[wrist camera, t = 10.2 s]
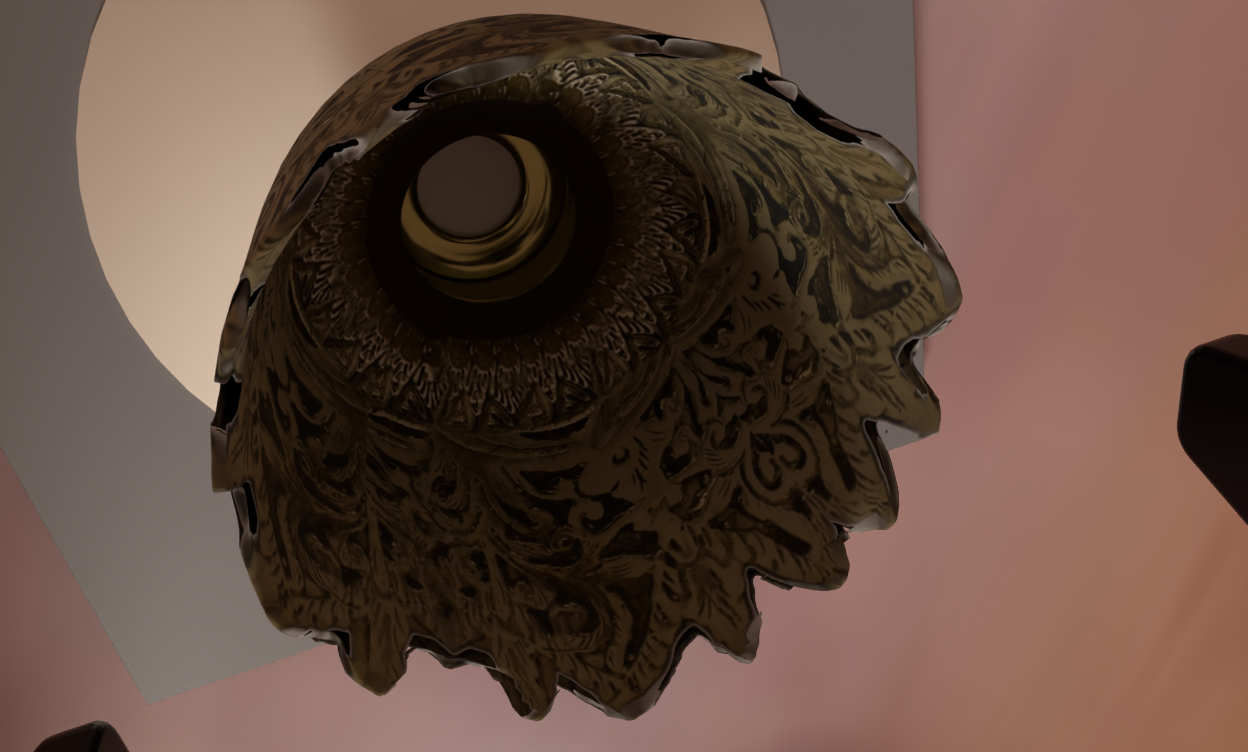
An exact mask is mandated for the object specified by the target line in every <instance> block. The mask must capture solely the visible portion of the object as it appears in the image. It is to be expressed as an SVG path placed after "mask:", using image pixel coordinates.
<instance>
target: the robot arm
mask: <svg viewBox="0 0 1248 752" xmlns="http://www.w3.org/2000/svg"><path fill="white" fill-rule="evenodd" d="M1177 432H1178V437H1179V440H1180V443H1181V445H1182V447H1183V449H1184V451H1185V452H1186V454H1187V455H1188V456H1189V458H1190V459H1191V460H1192V461H1193V462H1194V464H1195V465H1196V466H1197V467H1198V468H1199V469H1200V470H1201V472H1202V473H1203V474H1204V475H1205V476H1206V477H1207V479H1208V480H1209V481H1210V482H1211V483H1212V484H1213V486H1214V487H1215V488H1216V489H1217V490H1218V491H1219V493H1220V494H1221V495H1222V496H1223V497H1224V498H1225V500H1226V501H1227V502H1228V503H1229V504H1230V505H1231V506H1232V508H1233V509H1234V510H1235V511H1236V512H1237V513H1238V515H1239V516H1240V517H1241V518H1242V519H1243V520H1244V522H1245V523H1246V524H1247V525H1248V335H1245V334H1233V335H1228V336H1225V337H1222V338H1219V339H1216V340H1213V341H1210V342H1207V343H1204V344H1201V345H1199V346H1197V347H1195V348H1194V349H1192V350H1191V351H1190V353H1189V354H1188V356H1187V358H1186V359H1185V363H1184V369H1183V377H1182V386H1181V394H1180V402H1179V411H1178V419H1177ZM34 752H129V751H128V749H127V747H126V746H125V744H124V742H123V741H122V739H121V737H120V736H119V734H118V733H117V731H116V730H115V729H114V728H113V727H112V726H111V725H110V724H109V723H108V722H104V721H93V722H91V723H88V724H85V725H82V726H79V727H76V728H73V729H70V730H67V731H64V732H61V733H58V734H55V735H53V736H51V737H49V738H47V739H45V740H44V741H43V742H42V743H41V744H40V745H39V746H38V747H37V748H36V749H35V751H34Z"/></svg>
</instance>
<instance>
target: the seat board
mask: <svg viewBox="0 0 1248 752" xmlns="http://www.w3.org/2000/svg"><path fill="white" fill-rule="evenodd" d="M524 13H525V14H554V15H566V16H574V17H580V18H587V19H593V20H600V21H606V22H611V23H617V24H622V25H627V26H632V27H637V28H642V29H646V30H651V31H655V32H660V33H664V34H669V35H673V36H678V37H684V38H691V39H697V40H704V41H710V42H715V43H720V44H725V45H730V46H735V47H740V48H744V49H747V50H750V51H754V52H756V53H758V54H760V55H762V67H764V68H765V69H767V70H769V71H771V72H773V73H775V74H777V75H779V76H781V77H783V78H785V79H788V80H790V81H792V82H794V83H796V84H798V85H799V86H800V87H801V89H802V90H803V92H804V94H805V95H806V96H807V97H808V98H809V99H811V100H812V101H813V102H815V103H816V104H817V105H819V106H820V107H821V108H822V109H823V110H824V111H826V112H827V113H828V114H830V115H832V116H834V117H836V118H837V119H839V120H841V121H843V122H845V123H847V124H849V125H851V126H853V127H856V128H860V129H864V130H870V131H873V132H875V133H878V134H880V135H881V136H883V137H884V138H885V139H886V140H888V141H889V142H890V143H892V144H893V145H894V146H896V147H897V148H898V149H899V150H900V151H901V152H902V153H903V154H904V155H905V156H906V157H907V158H908V160H909V161H910V162H911V163H912V165H913V167H914V169H915V172H916V176H917V183H918V154H917V120H916V86H915V52H914V18H913V0H0V448H1V449H2V451H3V453H4V455H5V456H6V458H7V460H8V462H9V463H10V465H11V467H12V469H13V470H14V472H15V474H16V476H17V477H18V479H19V481H20V483H21V484H22V486H23V488H24V490H25V491H26V493H27V495H28V497H29V498H30V500H31V502H32V504H33V505H34V507H35V509H36V511H37V512H38V514H39V516H40V518H41V519H42V521H43V523H44V525H45V526H46V528H47V530H48V532H49V533H50V535H51V537H52V539H53V540H54V542H55V544H56V546H57V547H58V549H59V551H60V553H61V555H62V556H63V558H64V560H65V562H66V563H67V565H68V567H69V569H70V570H71V572H72V574H73V576H74V577H75V579H76V581H77V583H78V584H79V586H80V588H81V590H82V591H83V593H84V595H85V597H86V598H87V600H88V602H89V604H90V605H91V607H92V609H93V611H94V612H95V614H96V616H97V618H98V619H99V621H100V623H101V625H102V626H103V628H104V630H105V632H106V633H107V635H108V637H109V639H110V640H111V642H112V644H113V646H114V647H115V649H116V651H117V653H118V654H119V656H120V658H121V660H122V661H123V663H124V665H125V667H126V668H127V670H128V672H129V674H130V675H131V677H132V679H133V681H134V682H135V684H136V686H137V688H138V690H139V691H140V693H141V695H142V697H143V698H144V700H145V702H146V704H147V705H149V704H152V703H155V702H158V701H161V700H163V699H166V698H169V697H172V696H175V695H178V694H181V693H184V692H187V691H190V690H193V689H196V688H198V687H201V686H204V685H207V684H210V683H213V682H216V681H219V680H222V679H225V678H228V677H230V676H233V675H236V674H239V673H242V672H245V671H248V670H251V669H254V668H257V667H260V666H263V665H265V664H268V663H271V662H274V661H277V660H280V659H283V658H286V657H289V656H292V655H295V654H297V653H300V652H303V651H306V650H309V649H312V648H315V647H318V646H321V645H324V644H327V643H324V642H315V641H314V640H313V639H312V638H306V637H292V636H289V635H286V634H283V633H282V632H280V631H279V630H278V629H276V628H275V627H274V626H273V625H272V623H271V622H270V621H269V620H268V618H267V616H266V614H265V612H264V610H263V607H262V605H261V603H260V601H259V599H258V597H257V594H256V592H255V590H254V588H253V585H252V583H251V580H250V577H249V575H248V572H247V569H246V567H245V564H244V561H243V558H242V555H241V552H240V549H239V526H238V520H237V515H236V511H235V507H234V503H233V500H232V496H231V492H222V493H214V492H213V490H212V479H211V434H210V423H211V422H212V421H213V418H214V415H215V412H216V406H217V400H218V396H219V390H220V383H216V382H214V377H215V370H216V363H217V357H218V351H219V345H220V339H221V334H222V330H223V327H224V323H225V320H226V316H227V313H228V310H229V306H230V303H231V299H232V296H233V294H234V292H235V290H236V288H237V285H238V283H239V280H240V278H239V277H240V274H241V272H242V270H243V267H244V263H245V260H246V257H247V254H248V250H249V247H250V244H251V241H252V237H253V234H254V231H255V228H256V225H257V222H258V218H259V216H260V213H261V210H262V207H263V204H264V202H265V200H266V197H267V195H268V193H269V191H270V189H271V186H272V184H273V182H274V180H275V177H276V175H277V173H278V171H279V168H280V166H281V164H282V162H283V161H284V159H285V157H286V156H287V154H288V152H289V151H290V149H291V147H292V146H293V144H294V142H295V141H296V139H297V138H298V136H299V134H300V133H301V132H302V130H303V129H304V128H305V126H306V125H307V124H308V123H309V121H310V120H311V119H312V117H313V116H314V115H315V114H316V112H317V111H318V110H319V109H320V107H321V106H322V105H323V104H324V103H325V102H326V101H327V100H328V99H329V98H330V97H331V96H332V95H333V94H334V93H335V92H336V91H337V90H338V89H339V88H340V87H341V86H342V85H343V84H344V83H345V82H346V81H347V80H348V79H349V78H351V77H352V76H353V75H355V74H356V73H357V72H358V71H360V70H361V69H362V68H363V67H365V66H366V65H367V64H368V63H370V62H371V61H373V60H375V59H376V58H378V57H379V56H381V55H383V54H384V53H386V52H388V51H389V50H391V49H392V48H394V47H396V46H398V45H400V44H402V43H404V42H406V41H409V40H411V39H413V38H415V37H417V36H419V35H421V34H424V33H426V32H429V31H432V30H435V29H438V28H441V27H444V26H447V25H450V24H453V23H458V22H463V21H468V20H473V19H477V18H482V17H489V16H500V15H512V14H524ZM520 190H521V178H520V173H519V169H518V166H517V164H516V162H515V160H514V159H513V157H512V156H511V154H510V153H509V152H508V151H507V150H506V149H505V148H504V147H503V146H501V145H500V144H498V143H497V142H495V141H493V140H491V139H488V138H485V137H481V136H472V137H468V138H465V139H462V140H459V141H457V142H455V143H452V144H450V145H448V146H447V147H445V148H443V149H442V150H440V151H439V152H438V153H436V154H435V155H434V156H432V157H431V158H430V159H429V160H428V161H427V162H426V163H425V164H424V165H423V166H422V168H421V171H420V174H419V178H418V197H419V201H420V204H421V207H422V209H423V211H424V213H425V214H426V216H427V217H428V218H429V219H430V221H431V222H432V223H434V224H435V225H436V226H437V227H439V228H440V229H442V230H444V231H446V232H448V233H451V234H454V235H458V236H477V235H481V234H484V233H487V232H490V231H492V230H494V229H495V228H497V227H498V226H500V225H501V224H502V223H503V222H504V221H505V220H507V218H508V217H509V216H510V215H511V213H512V212H513V210H514V209H515V207H516V205H517V202H518V199H519V196H520ZM911 193H912V191H910V192H908V195H909V194H911ZM907 200H908V201H909V203H910V205H911V206H912V208H913V210H914V211H915V212H916V214H917V215H918V216H919V188H918V186H917V189H916V190H915V191H914V192H913V193H912V194H911V195H910V196H909V197H908V198H907ZM919 342H920V344H919V347H918V351H917V353H916V355H915V356H914V358H913V362H914V365H915V367H916V368H917V370H918V371H919V372H920V374H921V375H922V377H923V378H924V358H923V338H922V339H920V341H919ZM919 342H918V343H919ZM877 429H878V433H879V435H880V436H881V439H882V441H883V443H884V444H885V447H886V449H887V451H889V450H892V449H895V448H898V447H901V446H904V445H906V444H909V443H912V442H915V441H918V440H921V439H920V438H919V439H917V435H916V434H914V433H911V432H910V431H907V430H903V429H900V428H898V427H895V426H893V425H890V424H889V423H887V422H882V421H878V422H877ZM886 430H887V431H888V433H886V434H885V431H886Z"/></svg>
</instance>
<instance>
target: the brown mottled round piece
mask: <svg viewBox="0 0 1248 752" xmlns="http://www.w3.org/2000/svg"><path fill="white" fill-rule="evenodd" d="M472 136H481V137H485V138H488V139H491V140H493V141H495V142H497V143H498V144H500V145H501V146H503V147H504V148H505V149H506V150H507V151H508V152H509V153H510V154H511V156H512V157H513V159H514V160H515V162H516V164H517V166H518V169H519V173H520V178H521V190H520V196H519V199H518V202H517V205H516V207H515V209H514V210H513V212H512V213H511V215H510V216H509V217H508V218H507V220H505V221H504V222H503V223H502V224H501V225H500V226H498V227H497V228H495V229H494V230H492V231H490V232H487V233H484V234H481V235H477V236H458V235H454V234H451V233H448V232H446V231H444V230H442V229H440V228H439V227H437V226H436V225H435V224H434V223H432V222H431V221H430V219H429V218H428V217H427V216H426V214H425V213H424V211H423V209H422V207H421V204H420V201H419V197H418V178H419V174H420V171H421V168H422V166H423V165H424V164H425V163H426V162H427V161H428V160H429V159H430V158H431V157H432V156H434V155H435V154H436V153H438V152H439V151H440V150H442V149H443V148H445V147H447V146H448V145H450V144H452V143H455V142H457V141H459V140H462V139H465V138H468V137H472ZM917 186H918V183H917V176H916V172H915V169H914V167H913V165H912V163H911V162H910V161H909V160H908V158H907V157H906V156H905V155H904V154H903V153H902V152H901V151H900V150H899V149H898V148H897V147H896V146H894V145H893V144H892V143H890V142H889V141H888V140H886V139H885V138H884V137H883V136H881V135H880V134H878V133H875V132H873V131H870V130H864V129H860V128H856V127H853V126H851V125H849V124H847V123H845V122H843V121H841V120H839V119H837V118H836V117H834V116H832V115H830V114H828V113H827V112H826V111H824V110H823V109H822V108H821V107H820V106H819V105H817V104H816V103H815V102H813V101H812V100H811V99H809V98H808V97H807V96H806V95H805V94H804V92H803V90H802V89H801V87H800V86H799V85H798V84H796V83H794V82H792V81H790V80H788V79H785V78H783V77H781V76H779V75H777V74H775V73H773V72H771V71H769V70H767V69H765V68H764V67H762V55H760V54H758V53H756V52H754V51H750V50H747V49H744V48H740V47H735V46H730V45H725V44H720V43H715V42H710V41H704V40H697V39H691V38H684V37H678V36H673V35H669V34H664V33H660V32H655V31H651V30H646V29H642V28H637V27H632V26H627V25H622V24H617V23H611V22H606V21H600V20H593V19H587V18H580V17H574V16H566V15H554V14H525V13H524V14H512V15H500V16H489V17H482V18H477V19H473V20H468V21H463V22H458V23H453V24H450V25H447V26H444V27H441V28H438V29H435V30H432V31H429V32H426V33H424V34H421V35H419V36H417V37H415V38H413V39H411V40H409V41H406V42H404V43H402V44H400V45H398V46H396V47H394V48H392V49H391V50H389V51H388V52H386V53H384V54H383V55H381V56H379V57H378V58H376V59H375V60H373V61H371V62H370V63H368V64H367V65H366V66H365V67H363V68H362V69H361V70H360V71H358V72H357V73H356V74H355V75H353V76H352V77H351V78H349V79H348V80H347V81H346V82H345V83H344V84H343V85H342V86H341V87H340V88H339V89H338V90H337V91H336V92H335V93H334V94H333V95H332V96H331V97H330V98H329V99H328V100H327V101H326V102H325V103H324V104H323V105H322V106H321V107H320V109H319V110H318V111H317V112H316V114H315V115H314V116H313V117H312V119H311V120H310V121H309V123H308V124H307V125H306V126H305V128H304V129H303V130H302V132H301V133H300V134H299V136H298V138H297V139H296V141H295V142H294V144H293V146H292V147H291V149H290V151H289V152H288V154H287V156H286V157H285V159H284V161H283V162H282V164H281V166H280V168H279V171H278V173H277V175H276V177H275V180H274V182H273V184H272V186H271V189H270V191H269V193H268V195H267V197H266V200H265V202H264V204H263V207H262V210H261V213H260V216H259V218H258V222H257V225H256V228H255V231H254V234H253V237H252V241H251V244H250V247H249V250H248V254H247V257H246V260H245V263H244V267H243V270H242V272H241V274H240V277H239V278H240V280H239V283H238V285H237V288H236V290H235V292H234V294H233V296H232V299H231V303H230V306H229V310H228V313H227V316H226V320H225V323H224V327H223V330H222V334H221V339H220V345H219V351H218V357H217V363H216V370H215V377H214V382H216V383H220V390H219V396H218V400H217V406H216V412H215V415H214V418H213V421H212V422H211V423H210V434H211V479H212V490H213V492H214V493H222V492H231V496H232V500H233V503H234V507H235V511H236V515H237V520H238V526H239V549H240V552H241V555H242V558H243V561H244V564H245V567H246V569H247V572H248V575H249V577H250V580H251V583H252V585H253V588H254V590H255V592H256V594H257V597H258V599H259V601H260V603H261V605H262V607H263V610H264V612H265V614H266V616H267V618H268V620H269V621H270V622H271V623H272V625H273V626H274V627H275V628H276V629H278V630H279V631H280V632H282V633H283V634H286V635H289V636H292V637H306V638H312V639H313V640H314V641H315V642H324V643H327V644H331V645H337V646H338V651H339V657H340V659H341V662H342V665H343V667H344V670H345V672H346V674H347V675H348V676H350V677H351V678H352V679H353V680H354V681H355V682H357V683H358V684H359V685H361V686H362V687H364V688H366V689H368V690H369V691H371V692H373V693H374V694H376V695H377V696H382V695H385V694H387V693H388V692H389V691H390V690H391V689H392V688H393V687H395V685H396V682H397V681H398V680H399V679H400V678H401V677H402V676H403V675H404V674H405V673H406V670H407V661H406V660H407V659H408V657H409V654H410V653H411V652H412V651H414V649H417V650H421V651H423V652H428V653H430V654H431V655H432V656H433V657H434V658H436V659H437V660H438V661H439V662H440V663H441V664H442V665H443V667H445V668H448V669H454V668H457V667H461V666H464V665H467V664H472V665H474V666H484V667H485V668H486V669H487V671H488V672H489V674H490V675H491V677H492V678H493V680H496V681H499V682H500V684H501V685H502V687H503V689H504V691H505V693H506V694H507V696H508V698H509V700H510V702H511V705H512V707H513V708H514V710H515V711H516V712H517V713H518V714H519V715H520V716H521V717H523V718H526V719H530V720H533V721H540V720H542V719H543V718H544V717H545V716H546V715H547V714H548V713H549V712H550V711H551V707H552V706H553V702H554V699H555V697H556V695H557V693H558V692H559V691H560V690H559V691H558V692H557V685H558V686H560V687H562V688H563V689H566V690H568V691H570V692H571V693H573V694H574V695H576V696H577V697H578V698H580V699H581V700H583V701H584V702H586V703H588V704H591V705H593V706H594V707H596V708H598V709H600V710H602V711H603V712H604V713H605V714H606V715H607V716H609V717H612V718H617V719H622V720H629V721H630V720H634V719H636V718H637V717H639V716H640V715H642V714H643V713H645V712H646V711H648V710H649V709H651V708H652V707H654V706H655V704H656V702H657V700H658V699H659V698H660V696H661V694H662V693H663V691H664V689H665V688H666V687H667V685H668V684H669V682H670V680H671V677H672V676H673V675H674V674H675V672H676V669H675V668H676V667H677V666H678V664H679V662H680V660H681V658H682V653H683V651H684V649H685V648H686V647H687V646H688V645H689V643H691V642H692V641H693V640H694V639H695V638H696V637H697V636H701V637H702V638H704V640H706V641H708V642H709V643H710V644H711V645H712V647H714V648H715V650H716V651H717V652H718V653H724V654H729V655H730V656H731V657H733V658H734V659H736V660H738V661H739V662H740V663H747V664H749V663H751V662H752V661H753V660H754V658H755V657H756V652H757V648H758V645H759V633H760V628H761V625H762V619H761V615H762V613H761V612H760V614H759V612H758V609H757V606H756V602H755V589H754V585H753V578H754V577H755V576H757V575H759V576H762V577H761V579H760V580H764V581H767V582H769V583H771V584H772V585H775V586H778V587H780V588H782V589H786V590H790V589H791V588H792V587H793V586H795V587H799V588H805V589H811V590H818V591H830V590H835V589H839V588H840V587H841V586H842V585H843V583H844V582H845V581H846V579H847V577H848V572H849V566H850V564H849V560H848V557H847V554H846V549H845V546H844V542H845V541H846V540H848V539H849V538H850V536H849V535H848V533H849V532H860V533H861V532H864V531H869V530H887V529H889V528H890V527H891V526H892V525H894V523H895V522H896V520H897V516H898V510H899V492H898V486H897V482H896V478H895V473H894V470H893V466H892V462H891V459H890V457H889V454H888V451H887V449H886V447H885V444H884V443H883V441H882V439H881V436H880V435H879V433H878V429H877V422H878V421H882V422H887V423H889V424H890V425H893V426H895V427H898V428H900V429H903V430H907V431H910V432H911V433H914V434H916V435H917V439H919V438H920V439H924V438H926V437H928V436H931V435H935V434H938V431H939V426H940V420H941V410H940V405H939V399H938V398H937V396H936V395H935V394H934V392H933V390H932V389H931V388H930V386H929V385H928V384H927V382H926V381H925V380H924V378H923V377H922V375H921V374H920V372H919V371H918V370H917V368H916V367H915V365H914V362H913V358H914V356H915V355H916V353H917V351H918V347H919V344H920V342H919V341H920V339H922V338H923V337H925V338H928V337H931V336H934V335H936V334H938V333H939V332H941V331H943V330H944V329H945V328H946V326H947V325H948V324H949V323H950V322H951V321H952V319H953V318H954V317H955V315H956V313H957V311H958V309H959V307H960V305H961V302H962V298H963V297H962V292H961V288H960V284H959V281H958V278H957V276H956V274H955V272H954V269H953V268H952V266H951V264H950V262H949V261H948V258H947V256H946V254H945V252H944V250H943V248H942V247H941V246H940V244H939V243H938V241H937V240H936V238H935V237H934V236H933V234H932V233H931V231H930V230H929V229H928V227H927V226H926V225H925V224H924V222H923V221H922V220H921V219H920V217H919V216H918V215H917V214H916V212H915V211H914V210H913V208H912V206H911V205H910V203H909V201H908V200H907V198H908V197H909V196H910V195H911V194H912V193H913V192H914V191H915V190H916V189H917ZM910 191H912V193H911V194H909V195H908V192H910ZM926 336H927V337H926ZM925 338H924V339H925ZM924 339H923V340H924ZM918 342H919V343H918ZM886 433H888V431H887V430H886V431H885V434H886ZM843 527H846V528H849V529H850V530H848V531H847V532H846V531H845V530H844V528H843ZM408 646H409V647H412V648H411V649H409V650H408V651H406V650H407V647H408ZM556 692H557V693H556Z"/></svg>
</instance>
